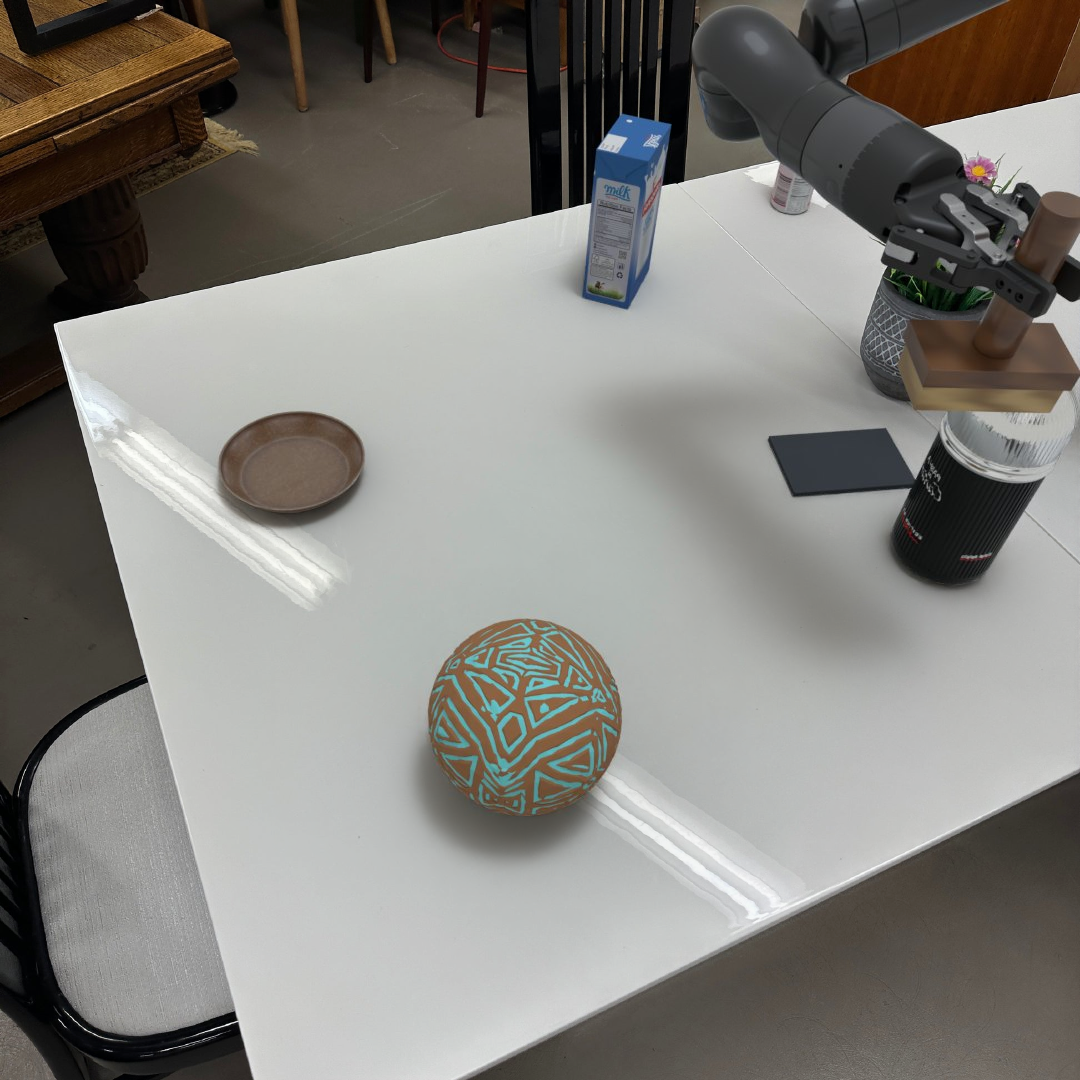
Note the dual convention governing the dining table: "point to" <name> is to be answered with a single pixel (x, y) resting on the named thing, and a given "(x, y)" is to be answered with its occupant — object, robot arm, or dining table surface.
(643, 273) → the milk carton
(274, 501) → the saucer
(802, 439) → the mat
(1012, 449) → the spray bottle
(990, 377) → the brush
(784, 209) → the beverage can
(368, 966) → the dining table surface
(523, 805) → the decorative sphere
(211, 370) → the dining table surface
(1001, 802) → the dining table surface
